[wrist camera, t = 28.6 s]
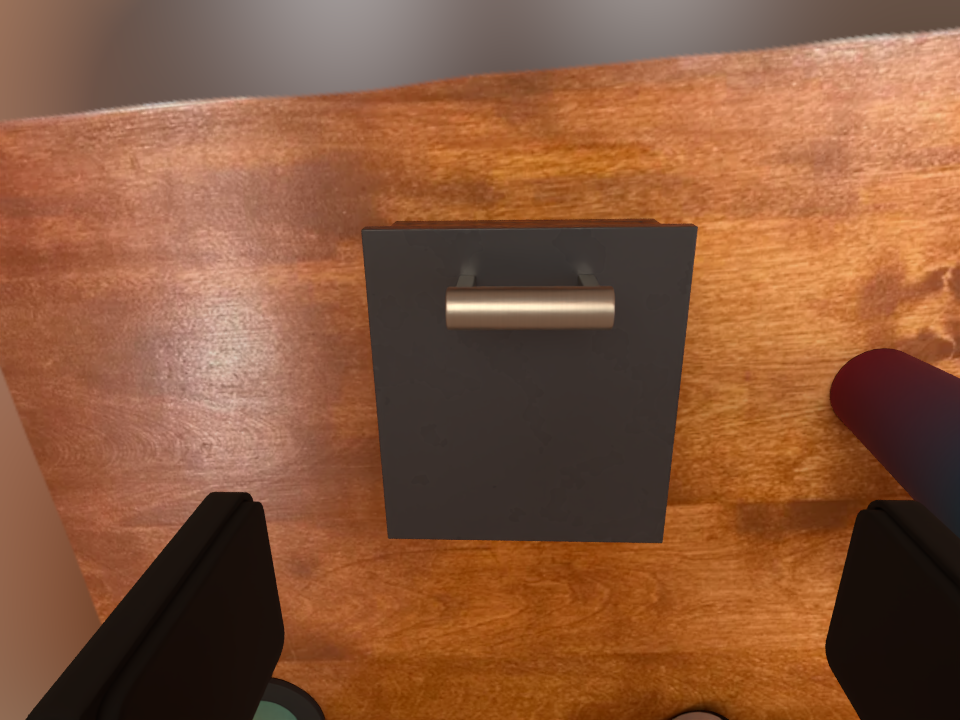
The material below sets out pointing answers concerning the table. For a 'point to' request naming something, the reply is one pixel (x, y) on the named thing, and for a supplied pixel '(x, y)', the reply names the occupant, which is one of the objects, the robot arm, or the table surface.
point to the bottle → (272, 712)
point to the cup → (906, 424)
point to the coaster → (292, 700)
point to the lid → (528, 377)
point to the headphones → (700, 716)
